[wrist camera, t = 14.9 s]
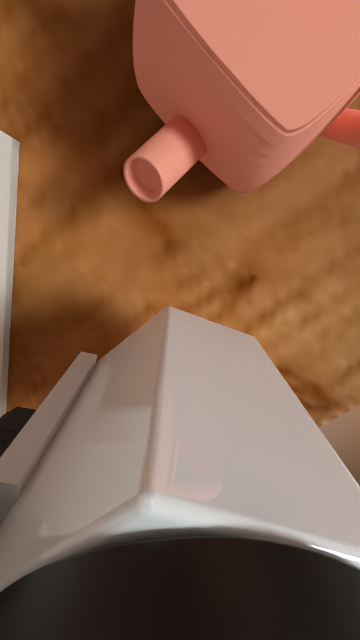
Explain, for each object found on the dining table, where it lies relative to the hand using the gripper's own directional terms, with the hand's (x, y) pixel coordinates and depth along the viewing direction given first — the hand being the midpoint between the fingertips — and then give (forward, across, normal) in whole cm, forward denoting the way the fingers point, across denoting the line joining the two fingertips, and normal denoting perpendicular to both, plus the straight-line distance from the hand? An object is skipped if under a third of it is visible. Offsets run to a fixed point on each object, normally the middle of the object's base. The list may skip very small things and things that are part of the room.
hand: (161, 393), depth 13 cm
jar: (+1, +1, 0) cm, 1 cm away
